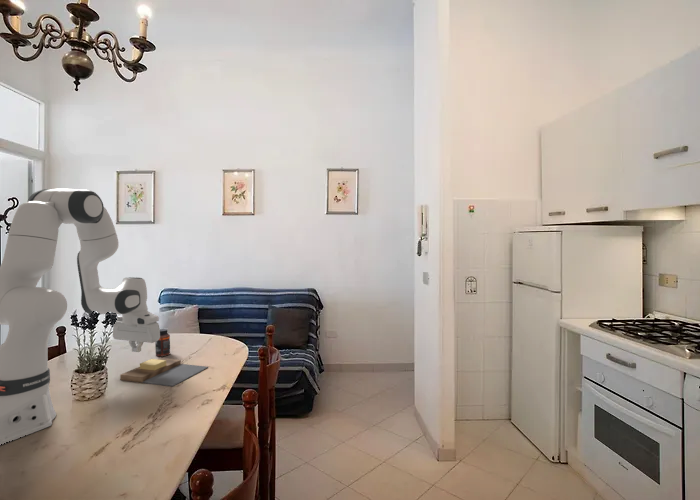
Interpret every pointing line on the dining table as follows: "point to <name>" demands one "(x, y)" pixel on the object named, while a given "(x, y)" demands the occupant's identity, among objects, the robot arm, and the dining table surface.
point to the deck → (148, 371)
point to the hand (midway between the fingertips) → (136, 351)
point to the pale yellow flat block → (153, 364)
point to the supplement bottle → (163, 343)
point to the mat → (175, 375)
